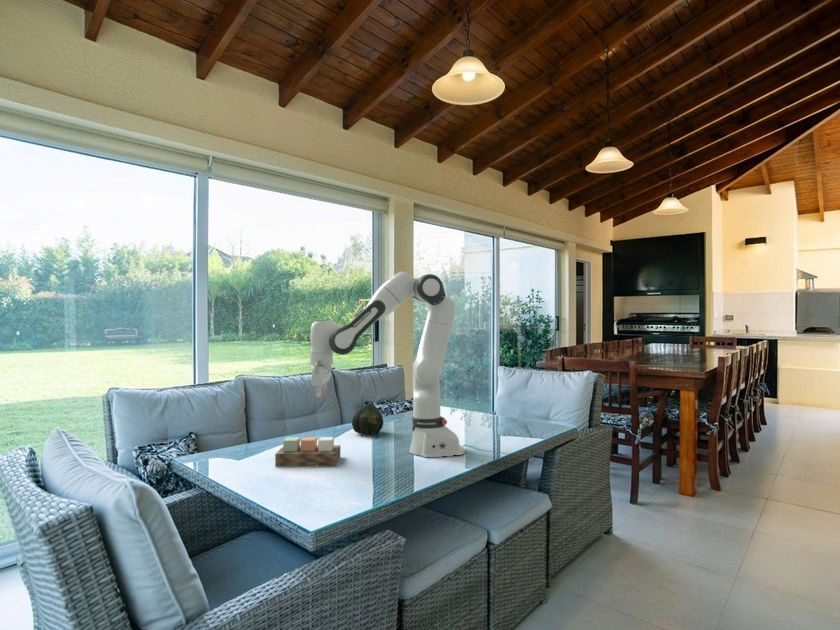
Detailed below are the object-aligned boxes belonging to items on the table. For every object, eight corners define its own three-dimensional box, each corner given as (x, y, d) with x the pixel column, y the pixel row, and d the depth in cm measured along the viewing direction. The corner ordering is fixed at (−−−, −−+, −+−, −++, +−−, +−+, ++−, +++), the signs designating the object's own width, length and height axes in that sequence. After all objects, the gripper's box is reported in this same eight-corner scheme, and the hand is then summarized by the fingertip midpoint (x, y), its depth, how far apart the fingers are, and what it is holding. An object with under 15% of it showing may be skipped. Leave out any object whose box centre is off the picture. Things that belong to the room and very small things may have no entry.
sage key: (299, 450, 188) (299, 437, 188) (296, 453, 183) (296, 440, 183) (286, 450, 188) (286, 437, 188) (283, 454, 183) (283, 440, 183)
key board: (340, 456, 192) (340, 445, 192) (335, 465, 180) (335, 453, 180) (283, 457, 192) (284, 445, 192) (275, 466, 180) (275, 453, 180)
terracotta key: (316, 450, 188) (316, 437, 188) (314, 453, 183) (314, 440, 183) (303, 450, 188) (303, 437, 188) (300, 453, 183) (300, 440, 183)
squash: (348, 426, 221) (369, 400, 224) (345, 421, 236) (365, 397, 239) (371, 446, 223) (392, 420, 226) (367, 440, 238) (387, 415, 241)
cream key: (333, 450, 188) (333, 437, 188) (331, 453, 183) (331, 440, 183) (320, 450, 188) (320, 437, 188) (318, 453, 183) (318, 440, 183)
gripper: (324, 362, 184) (324, 399, 184) (333, 358, 204) (333, 391, 204) (307, 362, 184) (307, 399, 184) (318, 358, 204) (317, 391, 204)
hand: (320, 395), depth 194 cm, fingers open, 8 cm apart
